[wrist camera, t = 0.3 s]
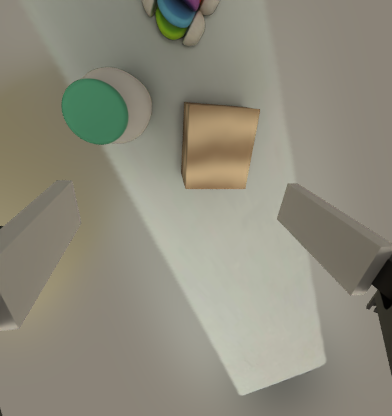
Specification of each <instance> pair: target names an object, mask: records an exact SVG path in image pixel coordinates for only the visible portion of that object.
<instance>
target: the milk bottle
mask: <svg viewBox="0 0 392 416" xmlns="http://www.w3.org/2000/svg"><path fill="white" fill-rule="evenodd" d="M62 113H63V116H64V119H65V121H66V123H67V125H68V126H69V128H70V129H71V130H72V131H73V132H74V133H75V134H76V135H77V136H78V137H80V138H81V139H83V140H85V141H87V142H90V143H93V144H99V145H103V144H109V143H116V144H120V143H127V142H130V141H132V140H134V139H136V138H137V137H139V136H140V135H141V134H142V133H143V131H144V130H145V128H146V127H147V125H148V123H149V120H150V117H151V113H152V101H151V97H150V95H149V92H148V91H147V89H146V87H145V86H144V85H143V84H142V83H141V82H140V81H139V80H138V79H136V78H135V77H134V76H132V75H131V74H129V73H127V72H125V71H123V70H120V69H117V68H113V67H102V68H97V69H94V70H92V71H90V72H88V73H87V74H86V75H85V76H84V77H83V78H82V79H80V80H77V81H75V82H73V83H72V84H71V85H69V87H68V88H67V89H66V91H65V93H64V95H63V98H62Z"/></svg>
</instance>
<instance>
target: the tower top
mask: <svg viewBox="0 0 392 416" xmlns="http://www.w3.org/2000/svg"><path fill="white" fill-rule="evenodd" d="M259 114H260V109H252V108H241V107H227V106H213V105H198V104H186V117H185V142H184V167H183V182H184V185H185V188H186V189H245V187H246V182H247V176H248V171H249V166H250V161H251V156H252V150H253V145H254V140H255V135H256V129H257V124H258V119H259Z"/></svg>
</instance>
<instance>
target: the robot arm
mask: <svg viewBox="0 0 392 416" xmlns="http://www.w3.org/2000/svg"><path fill="white" fill-rule="evenodd" d="M277 220H278V221H279V222H280V223H281V224H282V225H283V226H284V227H285V228H286V229H287V230H288V231H289V232H290V233H291V234H292V235H293V236H294V237H295V238H296V239H297V240H298V241H299V243H300V244H301V245H302V246H303V247H304V248H305V249H306V250H307V251H308V252H309V253H310V254H311V255H312V256H313V257H314V258H315V259H316V260H317V261H318V262H319V263H320V264H321V265H322V266H323V267H324V268H325V269H326V270H327V272H328V273H329V274H330V275H331V276H332V277H333V278H334V279H335V280H336V281H337V282H338V283H339V284H340V285H341V286H342V287H343V288H344V289H345V290H346V291H347V292H348V293H349V294H350V295H351V296H353V295H362V294H366V292H367V290H368V289H369V288H370V286H371V285H373V286H374V287H376V288H377V289H378V290H377V292H376V293H375V294H374V296H373V297H372V299H371V300H370V301H369V303H368V304H367V309H370V308H371V307H372V306H376V308H375V310H374V312H376V313H378V316H379V321H380V325H381V330H382V334H383V339H384V343H385V347H386V352H387V357H388V361H389V366H390V370H391V375H392V243H391V242H389V241H388V240H386V239H385V238H383V237H381V236H380V235H378V234H376V233H375V232H373V231H372V230H370V229H369V228H367V227H365V226H364V225H362V224H361V223H359V222H358V221H356V220H355V219H353V218H351V217H350V216H348V215H347V214H345V213H343V212H342V211H340V210H339V209H337V208H336V207H334V206H332V205H331V204H329V203H328V202H326V201H325V200H323V199H321V198H320V197H318V196H317V195H315V194H313V193H312V192H310V191H309V190H307V189H306V188H304V187H302V186H301V185H299V184H287V188H286V191H285V194H284V197H283V201H282V204H281V207H280V211H279V214H278V217H277ZM80 224H81V219H80V214H79V210H78V205H77V200H76V196H75V191H74V187H73V182H72V181H65V180H57V181H56V182H55V183H53V184H52V185H51V186H50V187H49V188H47V189H46V190H45V191H44V192H43V193H42V194H41V195H39V196H38V197H37V198H36V199H35V200H34V201H32V202H31V203H30V204H29V205H28V206H27V207H25V208H24V209H23V210H22V211H21V212H20V213H18V214H17V215H16V216H15V217H14V218H13V219H11V220H10V221H9V222H8V223H7V224H6V225H5V226H0V331H3V330H14V329H19V328H20V327H21V325H22V323H23V321H24V320H25V318H26V316H27V315H28V313H29V311H30V309H31V308H32V306H33V304H34V303H35V301H36V299H37V298H38V296H39V294H40V292H41V290H42V289H43V287H44V286H45V284H46V282H47V281H48V279H49V277H50V275H51V274H52V272H53V270H54V269H55V267H56V265H57V264H58V262H59V260H60V258H61V257H62V255H63V253H64V252H65V250H66V248H67V246H68V245H69V243H70V241H71V240H72V238H73V236H74V235H75V233H76V231H77V229H78V228H79V225H80ZM0 416H2V413H1V410H0Z"/></svg>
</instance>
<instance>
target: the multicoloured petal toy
mask: <svg viewBox="0 0 392 416" xmlns="http://www.w3.org/2000/svg"><path fill="white" fill-rule="evenodd" d="M219 2H220V0H142V3H143V7H144V9H145V11H146V13H147V14H148V15H149V16H150V17H152V16H153V15H154V13H155V15H156V21H157V25H158V27H159V30H160V31H161V33H162V34H163V35H164V36H165V37H167V38H168V39H172V40H176V39H179V38H182V37H183V36H184V35H186V36H185V38H184V41H183V44H185V45H187V46H193V45H196V44H197V43H198V42H199V40H200V38H201V36H202V35H203V33H204V30H205V20H204V17H203V15H210V14H212V13H213V12H214V11H215V9H216V7H217V5H218V4H219ZM199 5H200V8H199V10H198V11H197V9H198V7H199ZM155 11H156V12H155Z"/></svg>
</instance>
